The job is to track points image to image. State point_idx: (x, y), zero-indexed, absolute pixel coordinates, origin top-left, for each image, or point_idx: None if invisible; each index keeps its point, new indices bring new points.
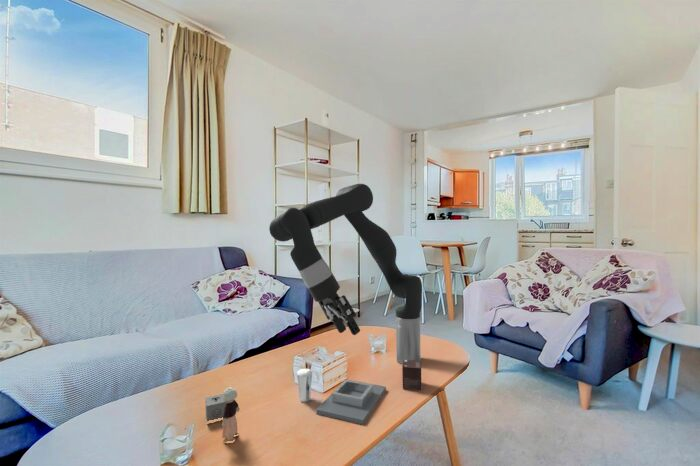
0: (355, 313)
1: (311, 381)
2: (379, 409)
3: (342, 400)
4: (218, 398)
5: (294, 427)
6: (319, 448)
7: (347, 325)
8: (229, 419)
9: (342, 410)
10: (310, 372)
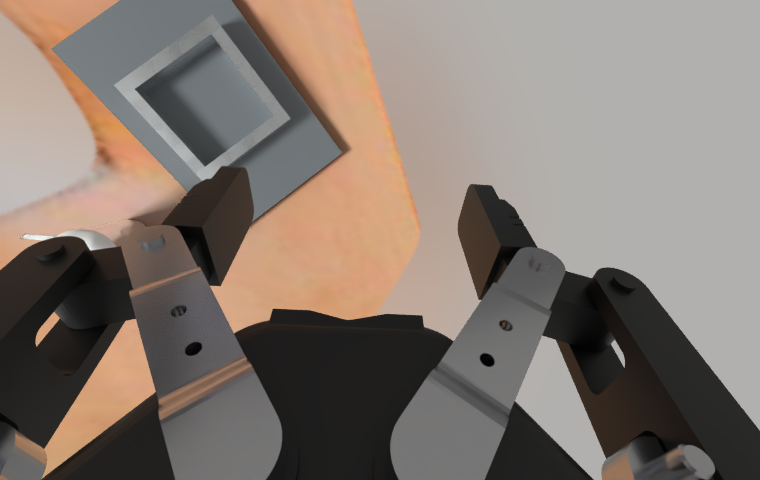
0: (646, 288)
1: (114, 229)
2: (299, 68)
3: (238, 159)
4: None
5: (267, 299)
6: (364, 274)
7: (477, 283)
8: None
9: (272, 176)
10: (103, 244)
